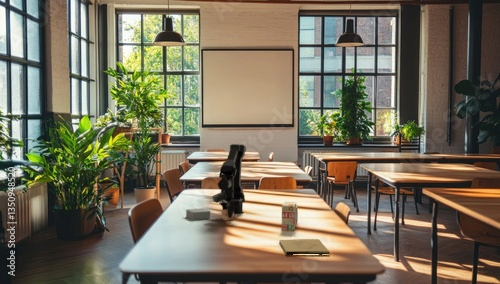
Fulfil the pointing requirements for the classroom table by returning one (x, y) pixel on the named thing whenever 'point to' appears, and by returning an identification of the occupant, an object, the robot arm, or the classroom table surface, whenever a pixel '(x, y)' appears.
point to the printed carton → (289, 215)
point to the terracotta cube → (226, 215)
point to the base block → (198, 214)
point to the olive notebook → (303, 246)
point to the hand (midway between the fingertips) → (227, 216)
